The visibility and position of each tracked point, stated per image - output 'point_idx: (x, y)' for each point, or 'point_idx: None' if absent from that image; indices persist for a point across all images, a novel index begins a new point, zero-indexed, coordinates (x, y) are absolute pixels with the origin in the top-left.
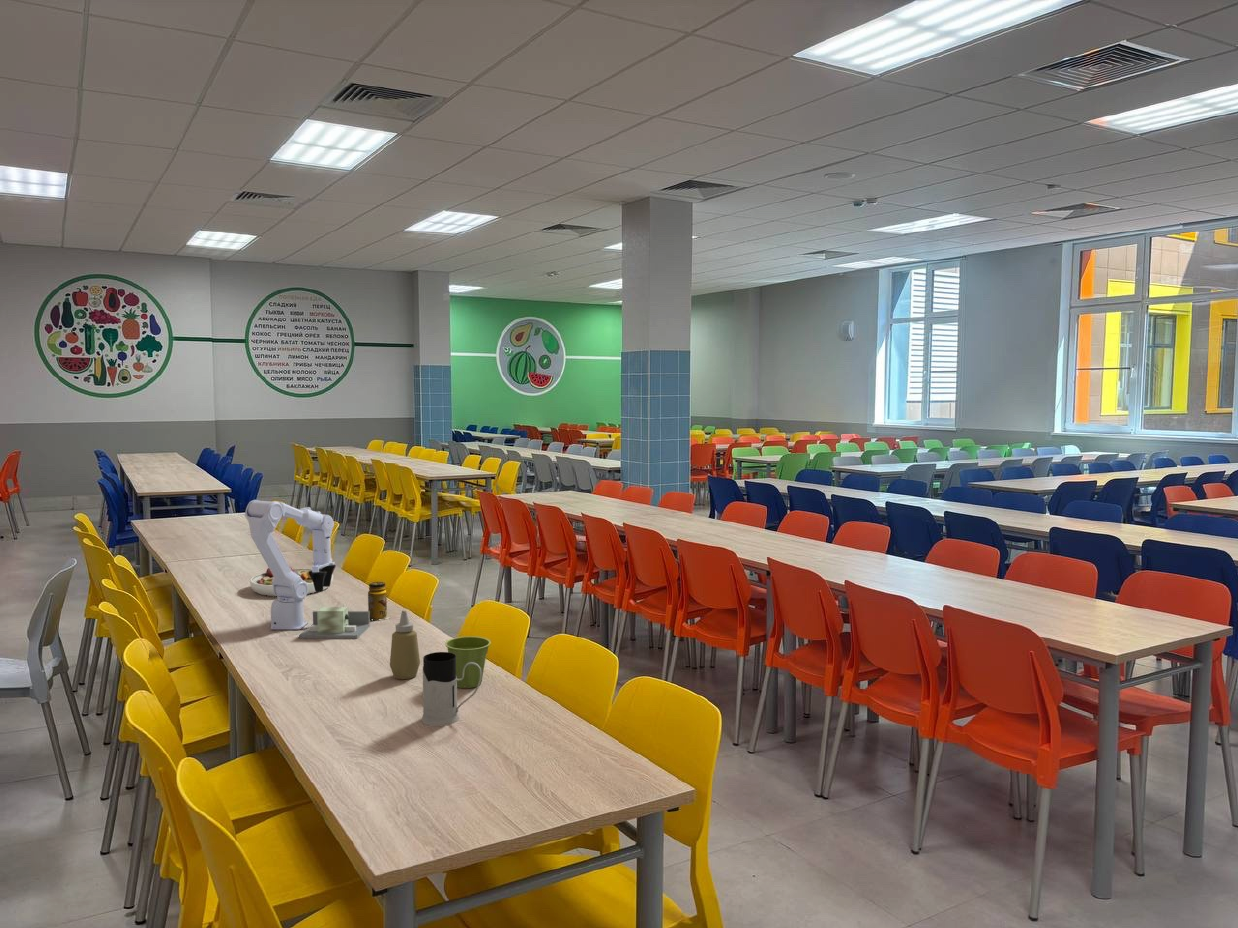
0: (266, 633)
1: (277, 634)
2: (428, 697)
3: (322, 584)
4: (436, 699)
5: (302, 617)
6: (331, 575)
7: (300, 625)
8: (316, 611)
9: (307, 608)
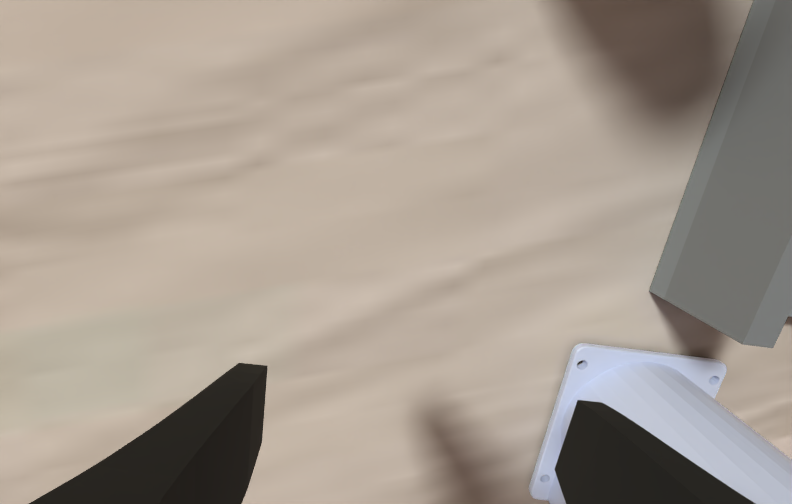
0: None
1: None
2: None
3: (724, 485)
4: None
5: (695, 394)
6: (135, 490)
7: (679, 372)
8: (772, 320)
9: None
